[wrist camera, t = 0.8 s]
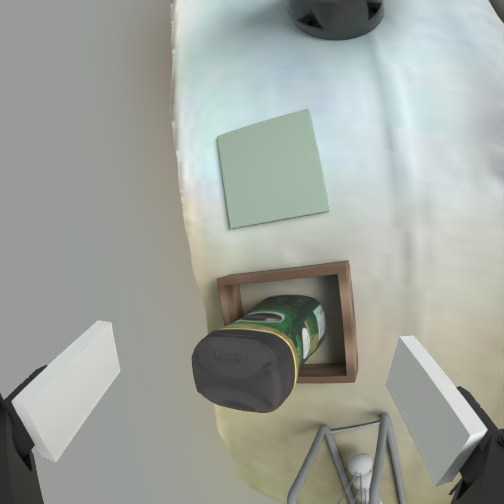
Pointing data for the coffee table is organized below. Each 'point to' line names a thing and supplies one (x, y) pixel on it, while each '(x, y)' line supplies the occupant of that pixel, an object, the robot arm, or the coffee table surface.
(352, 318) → the walnut caddy
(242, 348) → the coffee jar
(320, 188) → the sage mat
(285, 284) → the coffee table surface
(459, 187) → the coffee table surface
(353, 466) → the newton's cradle
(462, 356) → the coffee table surface
